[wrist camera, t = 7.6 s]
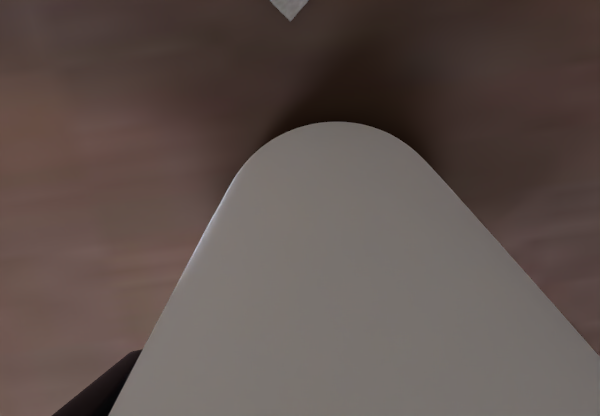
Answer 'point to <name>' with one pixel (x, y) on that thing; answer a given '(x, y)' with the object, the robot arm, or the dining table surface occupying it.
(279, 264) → the can
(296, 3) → the condiment
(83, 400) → the robot arm
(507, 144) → the dining table surface
